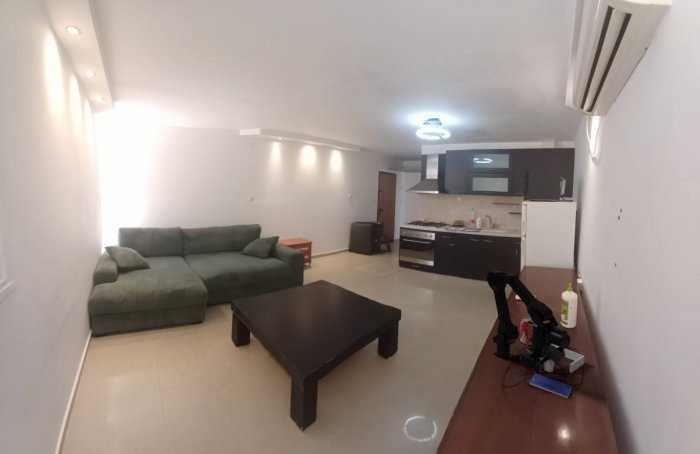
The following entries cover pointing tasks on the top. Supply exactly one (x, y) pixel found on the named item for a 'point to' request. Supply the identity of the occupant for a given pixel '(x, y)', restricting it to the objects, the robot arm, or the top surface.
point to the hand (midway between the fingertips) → (538, 373)
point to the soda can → (526, 331)
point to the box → (576, 357)
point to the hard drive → (551, 385)
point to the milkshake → (549, 365)
